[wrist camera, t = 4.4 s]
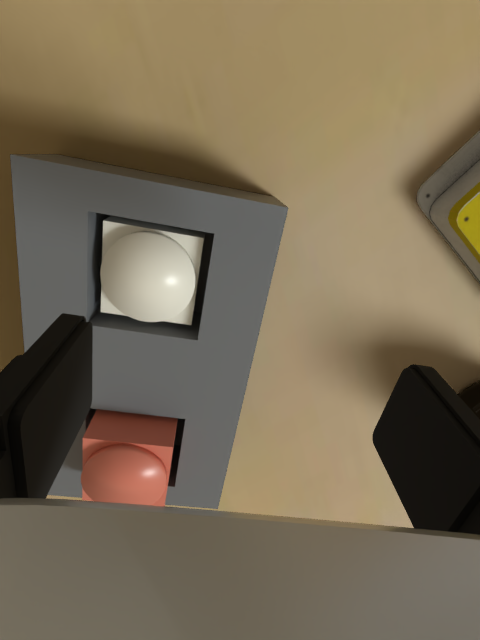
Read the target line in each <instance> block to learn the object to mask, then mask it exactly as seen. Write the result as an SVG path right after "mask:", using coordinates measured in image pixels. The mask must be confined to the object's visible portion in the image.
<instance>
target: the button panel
mask: <svg viewBox="0 0 480 640" xmlns="http://www.w3.org/2000/svg"><path fill="white" fill-rule="evenodd" d="M10 159H11V173H12V187H13V201H14V214H15V228H16V242H17V256H18V270H19V283H20V297H21V311H22V325H23V338H24V352H26V351H27V350H28V349H29V348H30V347H31V346H32V345H33V344H34V343H35V341H36V340H37V339H38V338H39V337H40V336H41V335H42V334H43V333H44V332H45V331H46V330H47V329H48V328H49V326H50V325H51V324H52V323H53V322H54V321H55V320H56V319H57V318H58V317H59V316H60V315H61V314H62V313H65V314H72V315H79V316H84V317H85V318H86V322H91V323H92V327H93V353H92V404H91V407H90V410H89V412H88V414H87V416H86V418H85V420H84V422H83V424H82V426H81V428H80V430H79V432H78V434H77V436H76V438H75V440H74V442H73V444H72V446H71V448H70V450H69V452H68V454H67V456H66V458H65V460H64V462H63V464H62V466H61V468H60V470H59V472H58V474H57V476H56V478H55V480H54V482H53V484H52V486H51V488H50V490H49V492H48V494H47V495H56V496H68V497H81V498H82V484H81V474H82V470H83V436H84V434H85V432H86V430H87V428H88V426H89V424H90V422H91V420H92V418H93V416H94V414H95V412H96V410H97V409H101V410H109V411H118V412H127V413H136V414H145V415H154V416H163V417H171V418H178V420H177V427H176V434H175V441H174V448H173V455H172V462H171V469H170V475H169V482H168V488H167V494H166V500H165V505H177V506H189V507H201V508H213V509H218V506H219V501H220V497H221V493H222V489H223V484H224V480H225V476H226V472H227V467H228V463H229V459H230V455H231V450H232V446H233V442H234V437H235V433H236V429H237V425H238V420H239V416H240V412H241V408H242V403H243V399H244V395H245V390H246V386H247V382H248V378H249V373H250V369H251V365H252V361H253V356H254V352H255V348H256V343H257V339H258V335H259V331H260V326H261V322H262V318H263V314H264V309H265V305H266V301H267V296H268V292H269V288H270V284H271V279H272V275H273V271H274V267H275V262H276V258H277V254H278V250H279V245H280V241H281V237H282V232H283V228H284V224H285V220H286V215H287V211H288V207H287V206H286V205H284V204H283V203H282V202H280V201H279V200H278V199H277V198H275V197H273V196H268V195H263V194H258V193H253V192H248V191H242V190H237V189H232V188H227V187H222V186H217V185H212V184H206V183H201V182H196V181H191V180H186V179H181V178H176V177H171V176H165V175H160V174H155V173H150V172H145V171H140V170H135V169H130V168H124V167H119V166H114V165H109V164H104V163H99V162H94V161H88V160H83V159H78V158H73V157H68V156H63V155H58V154H10ZM110 216H118V217H124V218H129V219H135V220H140V221H146V222H152V223H157V224H163V225H168V226H174V227H180V228H185V229H191V230H197V231H202V232H205V237H204V244H203V251H202V258H201V265H200V272H199V279H198V285H197V292H196V299H195V306H194V312H193V318H192V324H191V325H186V324H179V323H173V322H166V321H159V322H144V321H139V320H136V319H133V318H131V317H129V316H124V315H117V314H111V313H104V312H101V277H100V270H101V264H102V243H103V220H105V219H107V218H108V217H110Z"/></svg>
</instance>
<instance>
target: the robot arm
mask: <svg viewBox="0 0 480 640" xmlns="http://www.w3.org/2000/svg"><path fill="white" fill-rule="evenodd" d="M92 353H93V327H92V323H91V322H86V318H85V317H84V316H79V315H72V314H65V313H62V314H61V315H60V316H59V317H58V318H57V319H56V320H55V321H54V322H53V323H52V324H51V325H50V326H49V328H48V329H47V330H46V331H45V332H44V333H43V334H42V335H41V336H40V337H39V338H38V339H37V340H36V341H35V343H34V344H33V345H32V346H31V347H30V348H29V349H28V350H27V351H26V352H25V353H24V354H23V355H19V356H17V357H15V358H14V359H13V360H12V361H11V362H10V363H9V364H8V365H7V366H6V367H5V368H4V369H3V370H2V371H1V372H0V640H480V419H479V418H478V417H477V416H476V415H475V414H474V412H473V411H472V410H471V409H470V408H469V407H468V406H467V405H466V404H465V402H464V401H463V400H462V399H461V398H460V397H459V396H458V395H457V394H456V393H455V391H454V390H453V389H452V388H451V387H450V386H449V385H448V384H447V383H446V381H445V380H444V379H443V378H442V377H441V376H440V375H439V374H438V373H437V371H436V370H435V369H434V368H432V367H428V366H421V365H414V364H413V365H410V366H409V367H408V368H405V369H404V370H403V371H402V373H401V375H400V377H399V379H398V381H397V383H396V386H395V388H394V390H393V392H392V394H391V396H390V398H389V400H388V402H387V404H386V407H385V409H384V411H383V413H382V415H381V417H380V419H379V421H378V423H377V425H376V428H375V430H374V432H373V443H374V446H375V448H376V450H377V452H378V454H379V456H380V458H381V460H382V462H383V464H384V467H385V469H386V471H387V473H388V475H389V477H390V479H391V481H392V483H393V485H394V487H395V489H396V491H397V493H398V496H399V498H400V500H401V502H402V504H403V506H404V508H405V510H406V512H407V514H408V516H409V518H410V520H411V522H412V525H413V527H414V528H405V527H394V526H384V525H373V524H362V523H351V522H340V521H329V520H318V519H306V518H295V517H284V516H272V515H261V514H249V513H238V512H225V511H213V510H201V509H189V508H177V507H165V506H153V505H141V504H127V503H112V502H97V501H82V500H67V499H45V498H46V496H47V494H48V492H49V490H50V488H51V486H52V484H53V482H54V480H55V478H56V476H57V474H58V472H59V470H60V468H61V466H62V464H63V462H64V460H65V458H66V456H67V454H68V452H69V450H70V448H71V446H72V444H73V442H74V440H75V438H76V436H77V434H78V432H79V430H80V428H81V426H82V424H83V422H84V420H85V418H86V416H87V414H88V412H89V410H90V407H91V404H92Z"/></svg>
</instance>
